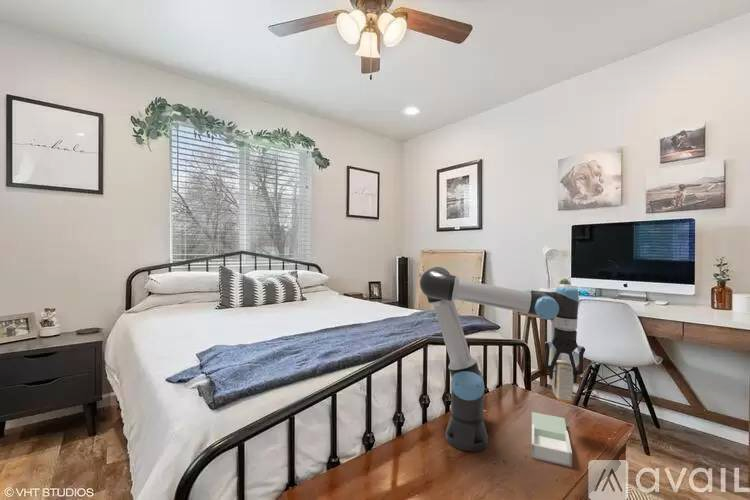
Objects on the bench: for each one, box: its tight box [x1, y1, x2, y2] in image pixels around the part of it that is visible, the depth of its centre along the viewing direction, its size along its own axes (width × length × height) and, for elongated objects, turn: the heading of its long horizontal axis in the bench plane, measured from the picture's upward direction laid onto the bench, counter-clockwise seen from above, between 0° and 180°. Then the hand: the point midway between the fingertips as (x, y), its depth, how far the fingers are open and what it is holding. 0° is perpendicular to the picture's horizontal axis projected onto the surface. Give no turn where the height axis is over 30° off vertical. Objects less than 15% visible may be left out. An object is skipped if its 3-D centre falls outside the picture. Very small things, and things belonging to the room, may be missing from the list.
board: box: [531, 411, 568, 441], centre depth 137 cm, size 12×14×3 cm
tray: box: [531, 423, 573, 468], centre depth 124 cm, size 12×16×4 cm
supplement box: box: [552, 359, 573, 403], centre depth 133 cm, size 8×5×13 cm, turn 166°
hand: (562, 389), depth 133 cm, fingers closed on supplement box, 5 cm apart
